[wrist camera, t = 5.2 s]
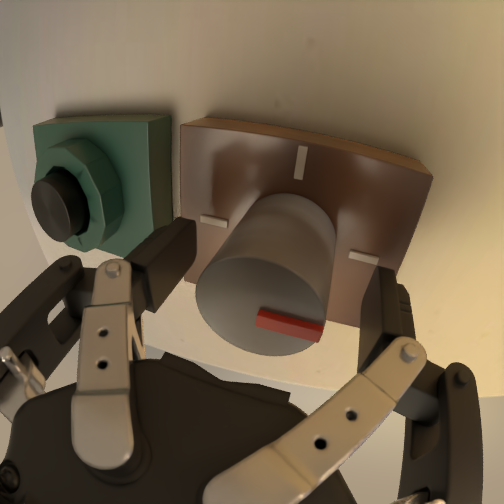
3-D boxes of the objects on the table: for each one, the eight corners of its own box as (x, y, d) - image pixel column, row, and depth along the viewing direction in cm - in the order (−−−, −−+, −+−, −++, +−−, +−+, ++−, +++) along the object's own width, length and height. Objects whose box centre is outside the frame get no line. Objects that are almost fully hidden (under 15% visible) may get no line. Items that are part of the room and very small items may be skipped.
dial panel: (201, 258, 19) (182, 282, 17) (204, 116, 14) (178, 125, 12) (369, 301, 17) (369, 332, 15) (420, 160, 12) (435, 177, 10)
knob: (238, 264, 15) (194, 341, 11) (245, 183, 12) (187, 246, 8) (323, 286, 14) (306, 374, 10) (346, 206, 12) (342, 285, 7)
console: (69, 220, 21) (37, 244, 18) (54, 118, 16) (13, 133, 13) (174, 250, 19) (142, 286, 16) (171, 115, 14) (124, 129, 11)
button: (57, 221, 16) (39, 234, 15) (46, 166, 14) (25, 177, 13) (95, 234, 16) (76, 249, 14) (85, 171, 13) (62, 183, 12)
